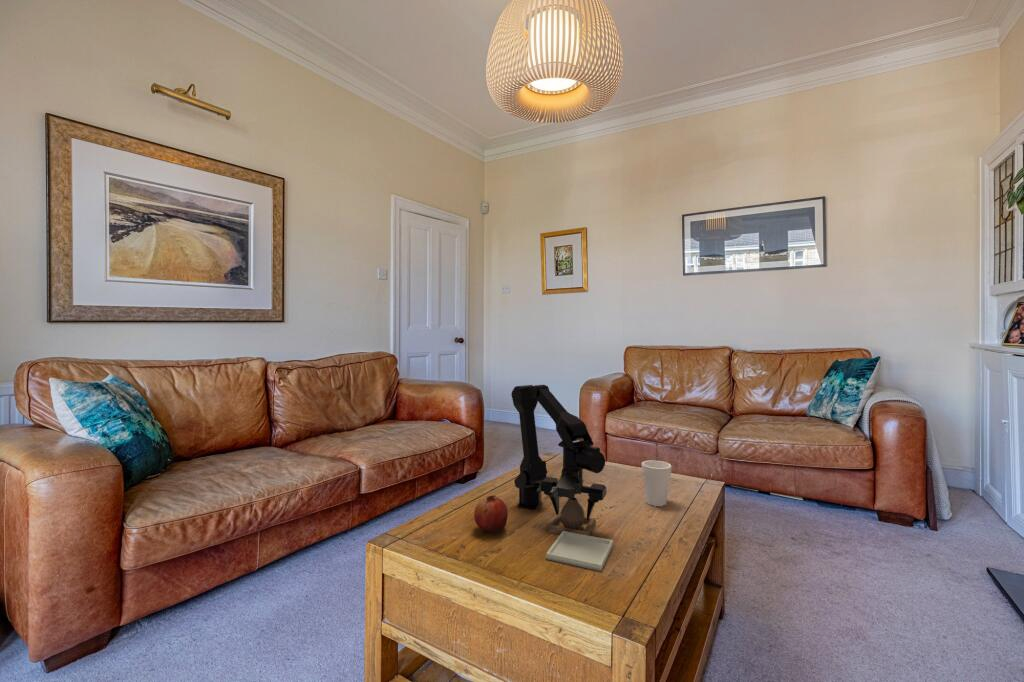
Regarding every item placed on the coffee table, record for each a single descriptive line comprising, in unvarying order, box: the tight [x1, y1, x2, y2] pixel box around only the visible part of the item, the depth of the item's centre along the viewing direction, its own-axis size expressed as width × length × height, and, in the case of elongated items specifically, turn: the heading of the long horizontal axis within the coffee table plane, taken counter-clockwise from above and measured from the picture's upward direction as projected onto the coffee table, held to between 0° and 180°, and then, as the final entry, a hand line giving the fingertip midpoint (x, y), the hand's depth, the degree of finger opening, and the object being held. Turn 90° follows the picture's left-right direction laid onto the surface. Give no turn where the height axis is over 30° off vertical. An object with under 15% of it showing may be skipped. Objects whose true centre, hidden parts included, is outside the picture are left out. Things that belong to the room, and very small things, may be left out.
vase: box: [560, 496, 585, 530], centre depth 131 cm, size 7×7×9 cm
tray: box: [545, 531, 614, 572], centre depth 117 cm, size 14×14×2 cm
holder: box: [548, 511, 597, 536], centre depth 132 cm, size 11×11×2 cm
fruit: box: [473, 495, 509, 533], centre depth 130 cm, size 11×10×10 cm
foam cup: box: [641, 459, 672, 507], centre depth 151 cm, size 10×9×13 cm
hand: (572, 517), depth 132 cm, fingers open, 9 cm apart
